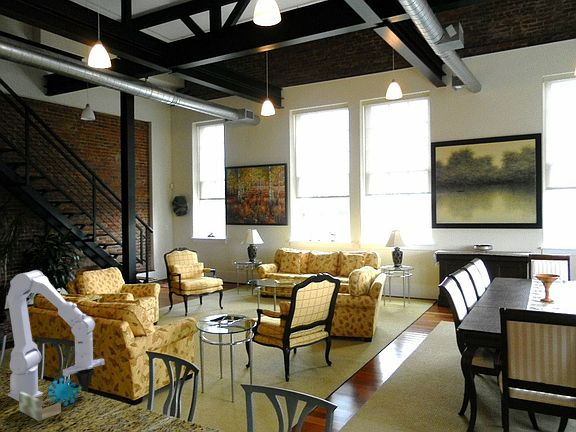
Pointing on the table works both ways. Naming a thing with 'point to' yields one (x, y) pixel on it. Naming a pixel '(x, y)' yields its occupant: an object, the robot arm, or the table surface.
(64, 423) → the table surface
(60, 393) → the gear
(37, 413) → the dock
